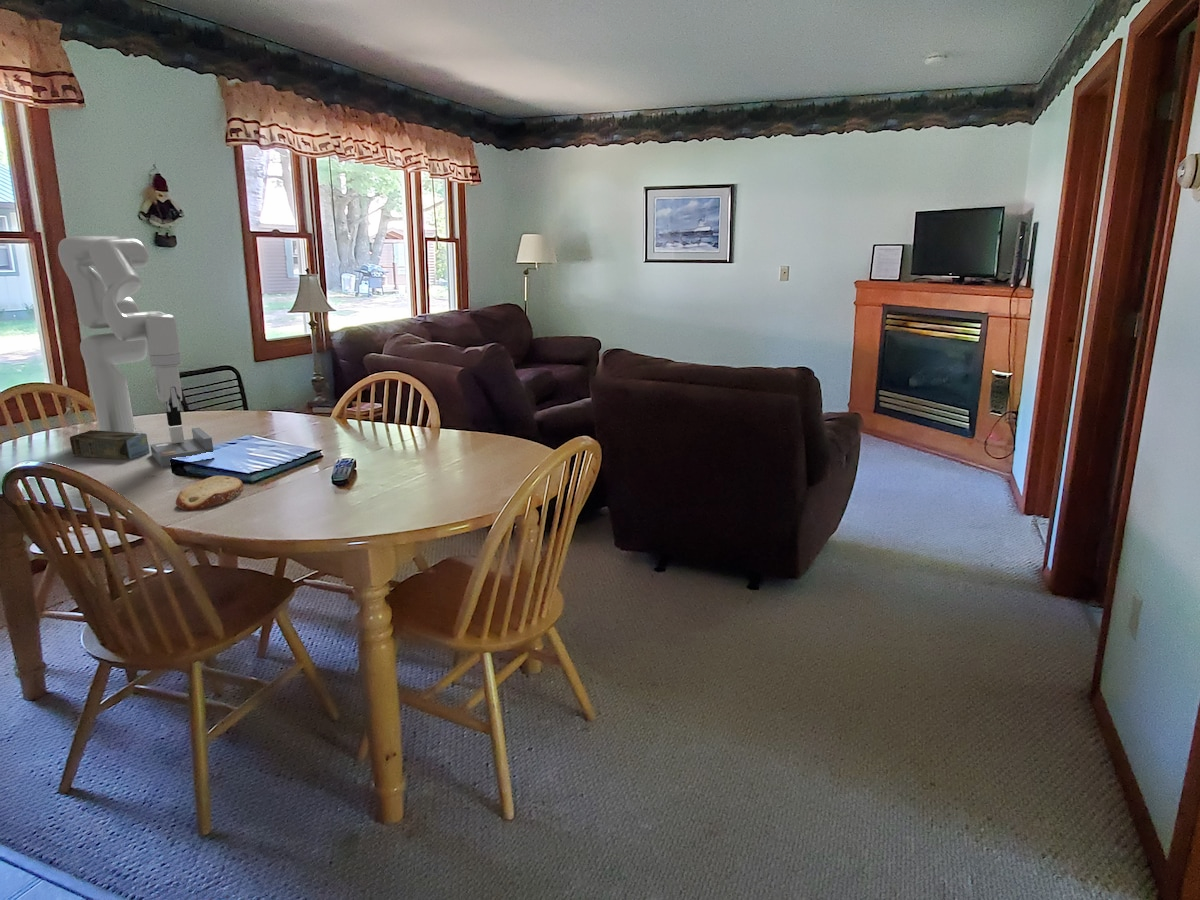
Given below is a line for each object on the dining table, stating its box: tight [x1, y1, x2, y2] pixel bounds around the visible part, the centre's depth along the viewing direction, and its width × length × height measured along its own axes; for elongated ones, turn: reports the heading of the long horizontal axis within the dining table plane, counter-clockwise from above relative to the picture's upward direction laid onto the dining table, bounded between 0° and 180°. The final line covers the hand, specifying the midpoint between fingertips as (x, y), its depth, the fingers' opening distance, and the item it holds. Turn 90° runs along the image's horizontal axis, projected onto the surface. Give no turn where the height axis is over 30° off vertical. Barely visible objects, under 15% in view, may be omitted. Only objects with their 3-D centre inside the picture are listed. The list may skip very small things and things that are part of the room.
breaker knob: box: [168, 425, 185, 443], centre depth 222 cm, size 2×3×4 cm
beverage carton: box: [69, 429, 151, 460], centre depth 222 cm, size 8×19×7 cm, turn 78°
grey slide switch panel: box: [149, 427, 214, 468], centre depth 219 cm, size 16×13×6 cm
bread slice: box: [175, 475, 244, 512], centre depth 185 cm, size 18×18×4 cm
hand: (175, 425), depth 220 cm, fingers closed
